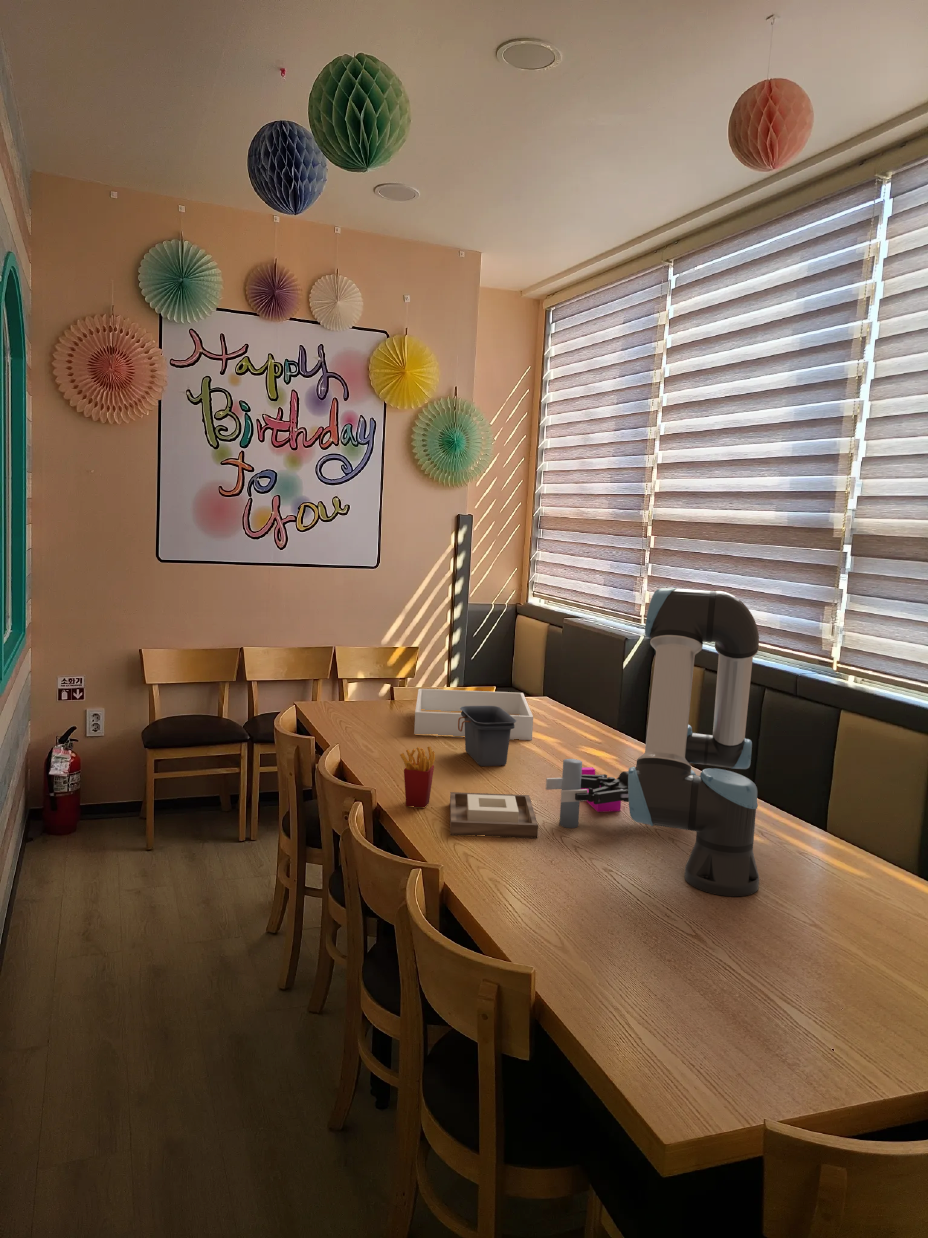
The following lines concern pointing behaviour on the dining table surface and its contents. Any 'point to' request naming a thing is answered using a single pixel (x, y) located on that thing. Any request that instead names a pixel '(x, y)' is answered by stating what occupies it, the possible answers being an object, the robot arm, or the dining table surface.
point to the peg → (570, 782)
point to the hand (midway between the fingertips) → (553, 790)
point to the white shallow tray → (460, 698)
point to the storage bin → (487, 734)
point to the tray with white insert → (462, 826)
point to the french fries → (418, 777)
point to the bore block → (492, 808)
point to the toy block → (604, 806)
